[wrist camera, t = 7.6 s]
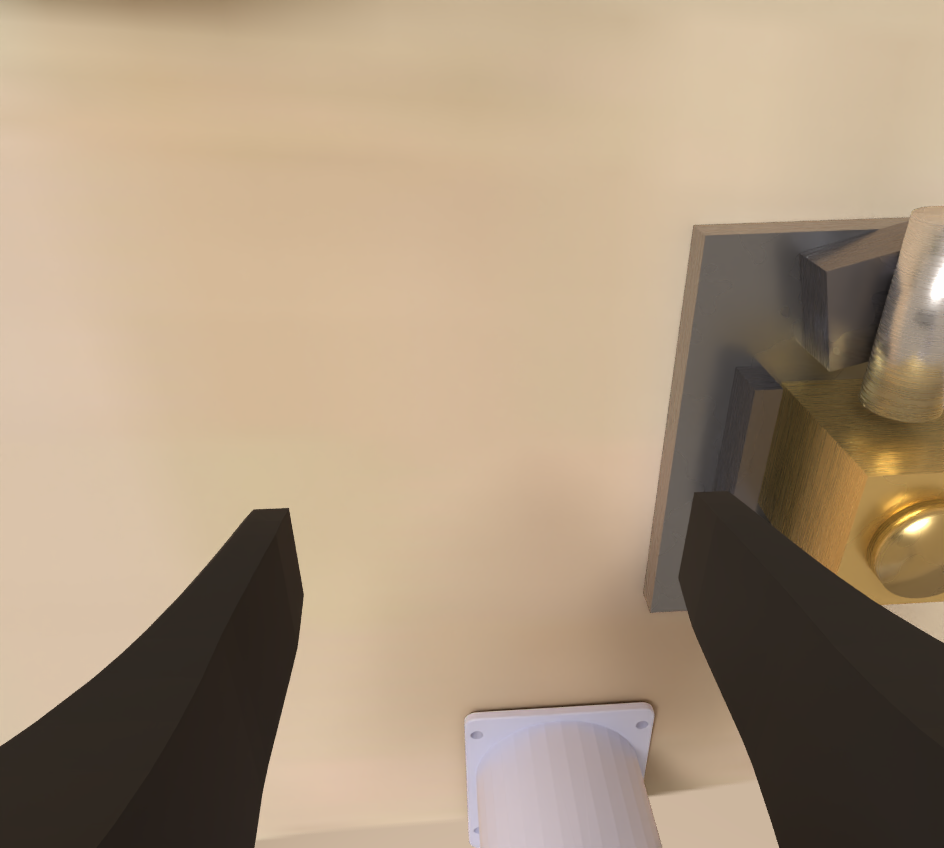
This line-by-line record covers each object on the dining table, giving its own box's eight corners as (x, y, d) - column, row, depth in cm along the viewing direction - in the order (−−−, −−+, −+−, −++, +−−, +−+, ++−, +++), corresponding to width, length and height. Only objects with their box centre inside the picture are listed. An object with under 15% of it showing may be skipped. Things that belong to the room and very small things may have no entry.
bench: (892, 598, 28) (968, 696, 24) (640, 612, 28) (676, 713, 24) (1052, 177, 20) (1204, 220, 16) (698, 188, 20) (766, 236, 16)
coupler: (871, 493, 24) (982, 615, 19) (754, 499, 24) (836, 624, 19) (909, 376, 22) (1044, 483, 17) (781, 382, 22) (881, 490, 17)
